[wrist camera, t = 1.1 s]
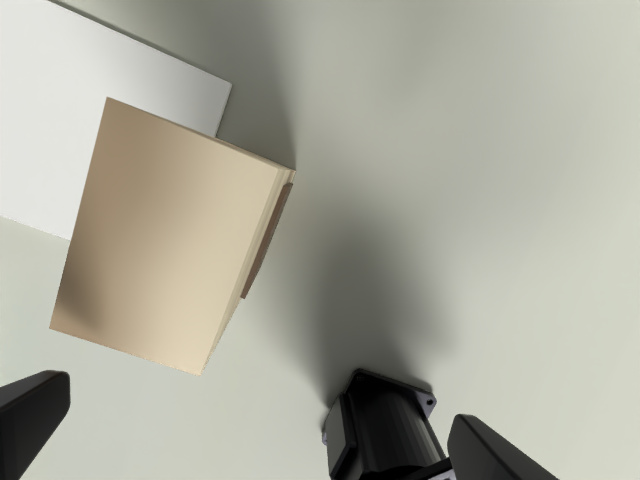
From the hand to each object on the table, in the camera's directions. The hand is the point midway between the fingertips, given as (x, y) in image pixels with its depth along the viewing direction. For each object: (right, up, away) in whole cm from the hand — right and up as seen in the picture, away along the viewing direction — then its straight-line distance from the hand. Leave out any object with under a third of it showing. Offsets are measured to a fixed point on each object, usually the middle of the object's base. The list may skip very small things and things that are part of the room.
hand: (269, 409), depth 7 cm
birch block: (-3, +6, +11) cm, 13 cm away
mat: (-12, +9, +10) cm, 18 cm away
